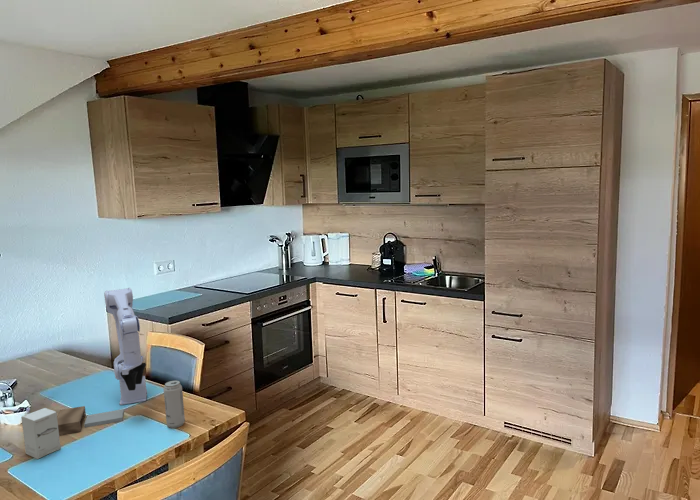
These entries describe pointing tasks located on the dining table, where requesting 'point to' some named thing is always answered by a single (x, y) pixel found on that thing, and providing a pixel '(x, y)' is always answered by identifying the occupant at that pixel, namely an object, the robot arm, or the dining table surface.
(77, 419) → the walnut shelf
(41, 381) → the dining table surface
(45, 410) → the supplement box
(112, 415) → the slate tile
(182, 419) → the energy drink can
